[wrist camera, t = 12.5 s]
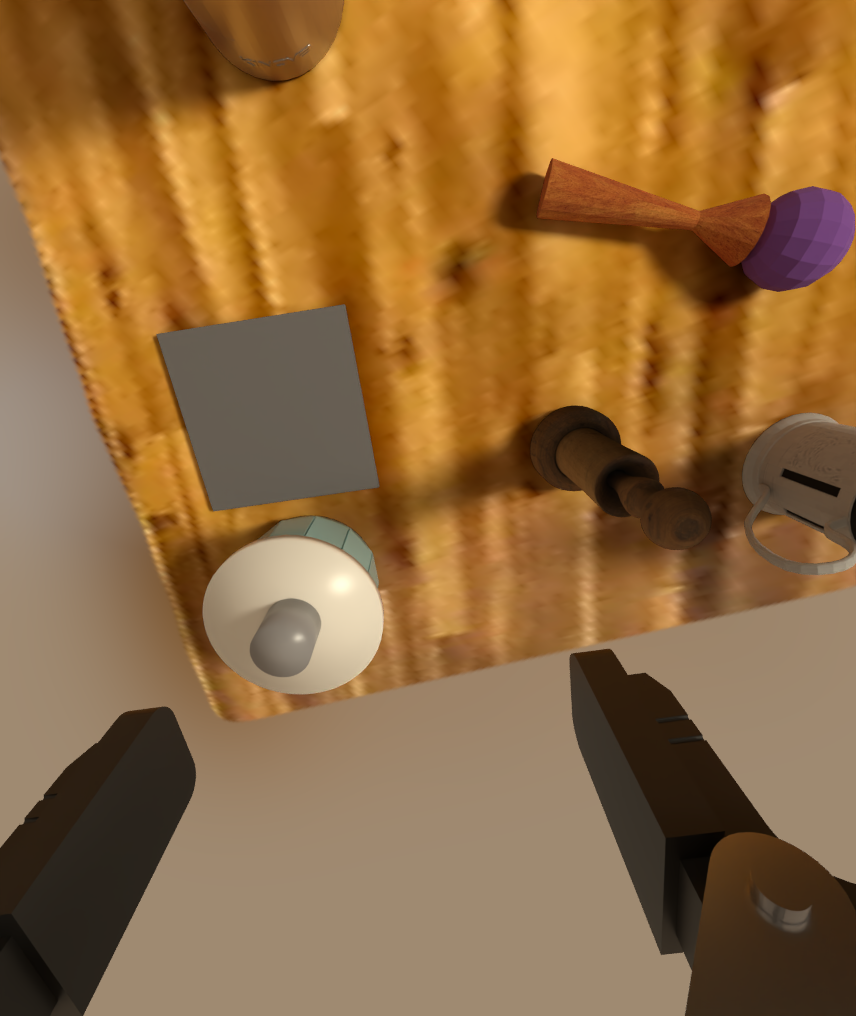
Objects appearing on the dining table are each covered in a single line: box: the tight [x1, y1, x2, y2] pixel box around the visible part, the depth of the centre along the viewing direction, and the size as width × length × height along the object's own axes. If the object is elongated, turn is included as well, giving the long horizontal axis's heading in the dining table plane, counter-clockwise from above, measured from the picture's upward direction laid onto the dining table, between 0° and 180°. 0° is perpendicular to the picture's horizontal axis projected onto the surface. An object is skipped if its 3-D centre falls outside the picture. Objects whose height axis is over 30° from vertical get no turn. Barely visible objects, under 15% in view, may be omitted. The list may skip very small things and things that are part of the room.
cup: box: [258, 516, 379, 588], centre depth 38 cm, size 11×11×7 cm
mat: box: [156, 305, 379, 511], centre depth 37 cm, size 14×14×1 cm
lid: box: [203, 535, 384, 694], centre depth 33 cm, size 13×13×4 cm
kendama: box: [536, 158, 855, 292], centre depth 31 cm, size 6×6×20 cm
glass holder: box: [742, 413, 856, 575], centre depth 32 cm, size 9×14×15 cm, turn 109°
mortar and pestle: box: [530, 406, 711, 550], centre depth 30 cm, size 7×6×18 cm
